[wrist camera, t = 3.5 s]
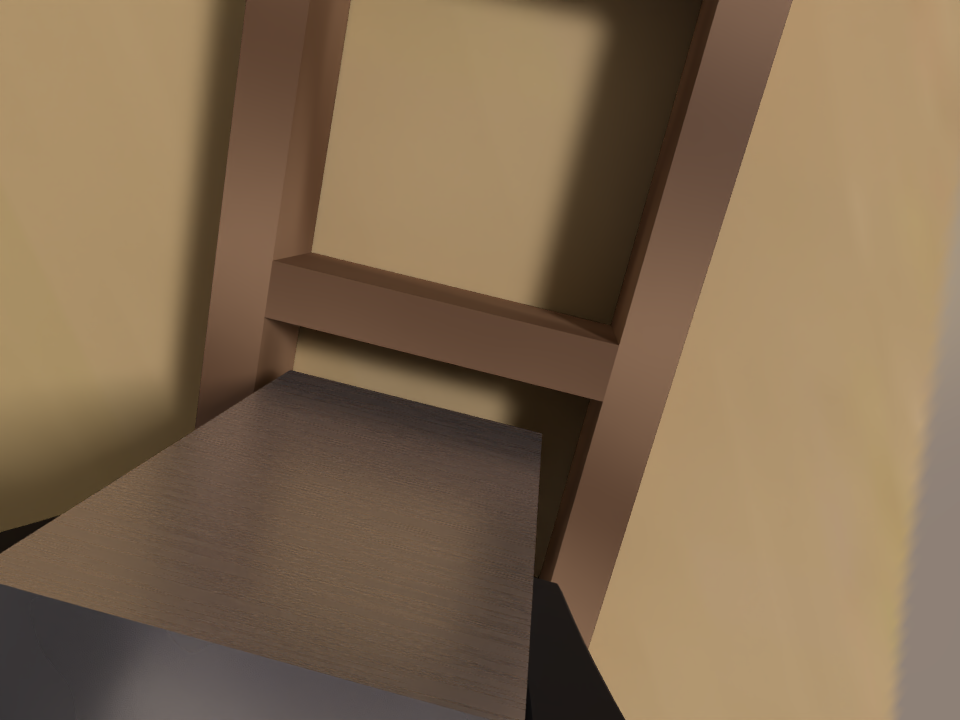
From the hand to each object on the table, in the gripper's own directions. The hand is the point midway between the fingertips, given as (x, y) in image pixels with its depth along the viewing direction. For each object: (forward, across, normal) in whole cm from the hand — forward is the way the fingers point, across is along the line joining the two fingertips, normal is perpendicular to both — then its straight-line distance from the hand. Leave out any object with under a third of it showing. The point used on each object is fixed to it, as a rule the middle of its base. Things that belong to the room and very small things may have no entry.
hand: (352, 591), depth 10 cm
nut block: (+2, 0, 0) cm, 2 cm away
